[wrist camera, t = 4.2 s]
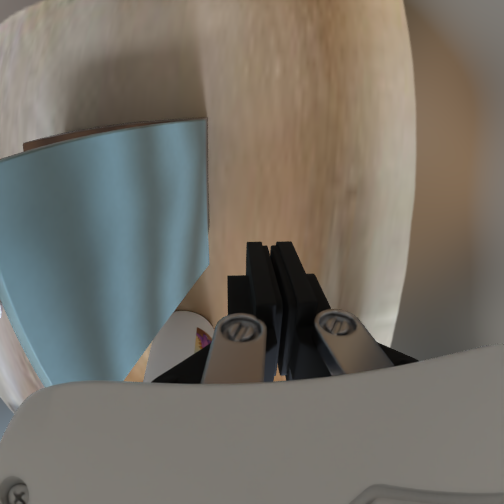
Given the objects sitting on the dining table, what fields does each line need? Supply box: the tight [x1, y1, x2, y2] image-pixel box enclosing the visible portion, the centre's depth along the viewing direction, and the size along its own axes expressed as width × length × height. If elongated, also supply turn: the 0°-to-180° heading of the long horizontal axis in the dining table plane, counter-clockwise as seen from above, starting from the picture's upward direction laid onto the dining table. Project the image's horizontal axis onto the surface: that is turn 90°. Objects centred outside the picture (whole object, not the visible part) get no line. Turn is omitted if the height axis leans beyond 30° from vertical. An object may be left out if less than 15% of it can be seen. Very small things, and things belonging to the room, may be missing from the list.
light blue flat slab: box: [0, 119, 209, 387], centre depth 15 cm, size 16×11×1 cm
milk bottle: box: [143, 311, 214, 383], centre depth 29 cm, size 8×8×20 cm
